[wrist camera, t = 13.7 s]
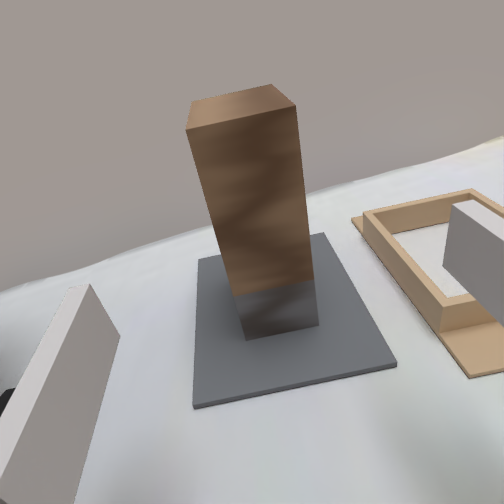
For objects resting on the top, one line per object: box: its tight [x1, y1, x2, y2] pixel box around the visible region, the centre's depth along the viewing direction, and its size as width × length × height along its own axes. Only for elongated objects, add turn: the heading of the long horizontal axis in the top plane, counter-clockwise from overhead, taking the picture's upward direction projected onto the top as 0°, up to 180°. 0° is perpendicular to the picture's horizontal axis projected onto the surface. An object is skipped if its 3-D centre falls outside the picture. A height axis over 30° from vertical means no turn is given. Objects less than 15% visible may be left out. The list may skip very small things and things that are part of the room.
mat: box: [192, 232, 397, 409], centre depth 26 cm, size 12×15×1 cm
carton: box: [351, 188, 504, 378], centre depth 25 cm, size 13×18×2 cm
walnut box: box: [186, 84, 319, 341], centre depth 22 cm, size 5×7×14 cm
